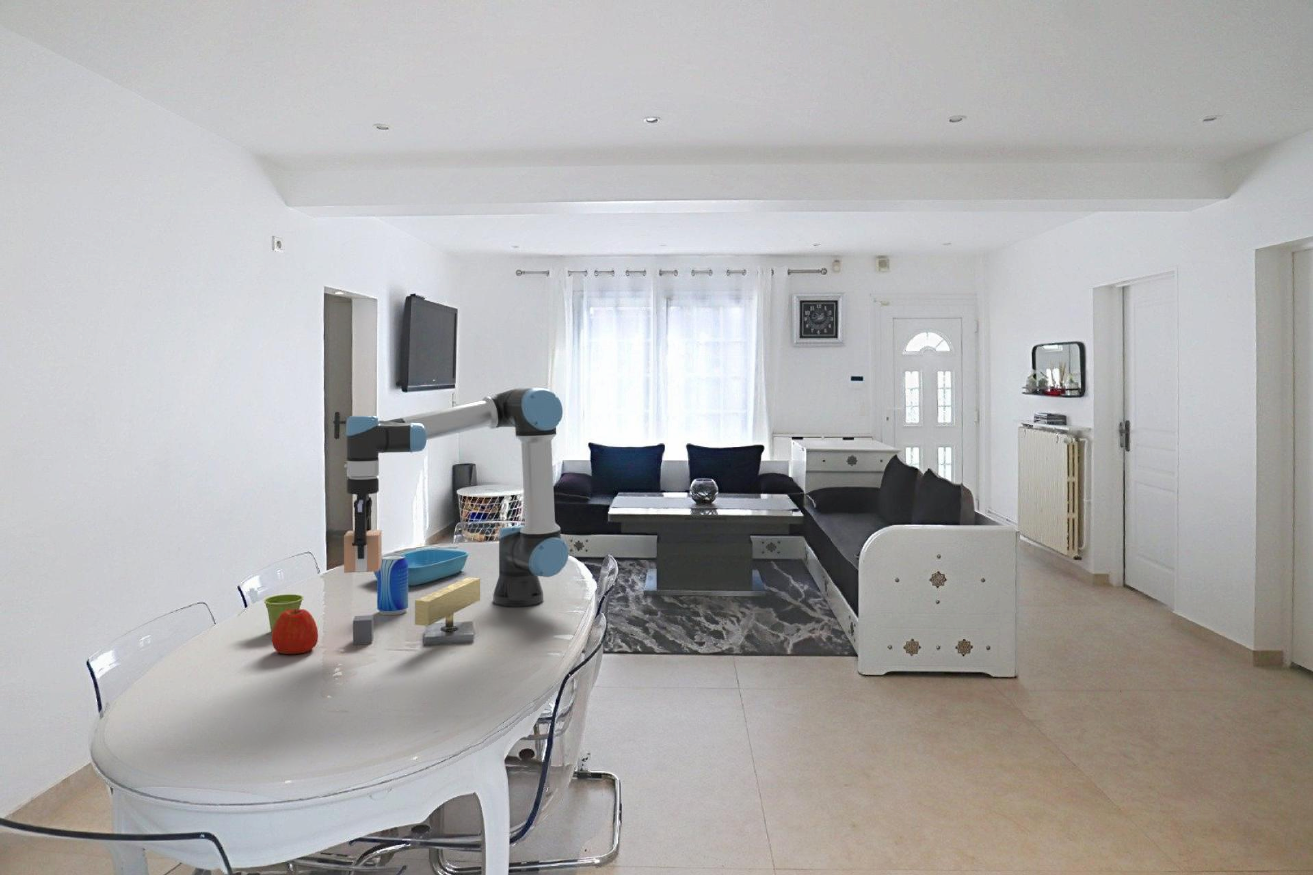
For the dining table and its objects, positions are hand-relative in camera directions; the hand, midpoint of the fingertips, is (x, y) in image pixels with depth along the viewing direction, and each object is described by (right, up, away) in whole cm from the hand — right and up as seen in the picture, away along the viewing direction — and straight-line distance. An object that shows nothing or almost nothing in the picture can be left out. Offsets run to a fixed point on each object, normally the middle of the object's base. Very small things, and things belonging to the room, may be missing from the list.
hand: (363, 567), depth 199 cm
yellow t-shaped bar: (+20, -16, +6) cm, 26 cm away
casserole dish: (-7, -16, +74) cm, 76 cm away
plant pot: (-24, -18, +8) cm, 31 cm away
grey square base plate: (+20, -19, +6) cm, 28 cm away
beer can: (-2, -18, +28) cm, 33 cm away
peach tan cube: (0, 0, 0) cm, 0 cm away
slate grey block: (0, -19, +1) cm, 19 cm away
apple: (-14, -19, -8) cm, 25 cm away
